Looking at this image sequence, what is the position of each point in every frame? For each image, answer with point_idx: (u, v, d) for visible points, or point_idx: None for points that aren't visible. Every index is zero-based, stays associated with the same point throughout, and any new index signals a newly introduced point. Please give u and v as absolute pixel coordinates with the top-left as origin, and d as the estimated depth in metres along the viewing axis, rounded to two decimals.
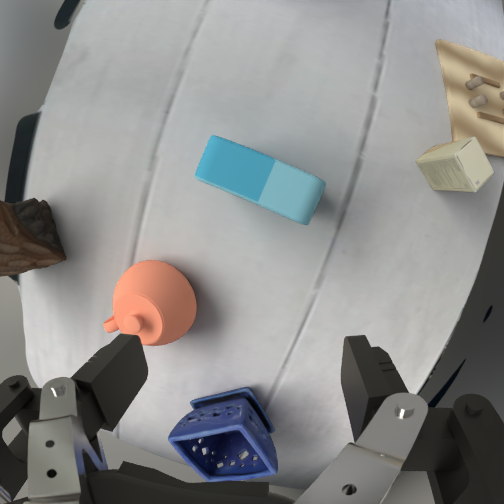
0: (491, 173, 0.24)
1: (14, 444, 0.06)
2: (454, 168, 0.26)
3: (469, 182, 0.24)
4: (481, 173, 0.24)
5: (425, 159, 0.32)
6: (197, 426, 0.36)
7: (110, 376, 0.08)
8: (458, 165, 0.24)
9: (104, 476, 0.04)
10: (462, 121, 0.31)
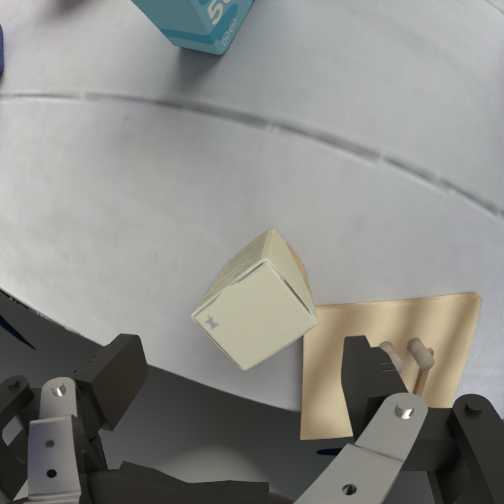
0: (240, 363, 0.14)
1: (14, 444, 0.06)
2: (242, 268, 0.15)
3: (208, 301, 0.14)
4: (233, 335, 0.14)
5: (271, 233, 0.21)
6: None
7: (110, 376, 0.08)
8: (243, 272, 0.14)
9: (104, 476, 0.04)
10: (353, 325, 0.23)
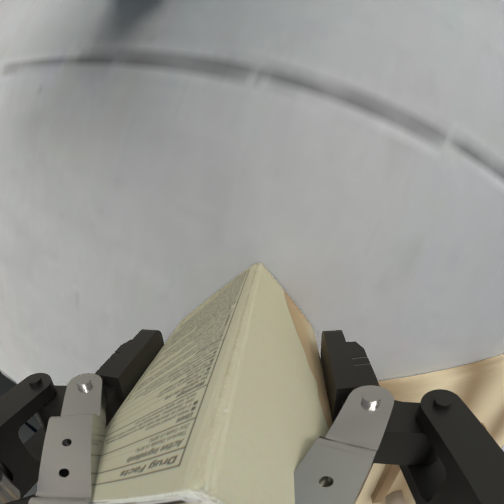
0: None
1: (33, 441, 0.06)
2: (149, 434, 0.04)
3: None
4: None
5: (253, 285, 0.10)
6: None
7: (135, 371, 0.09)
8: (134, 484, 0.03)
9: None
10: None
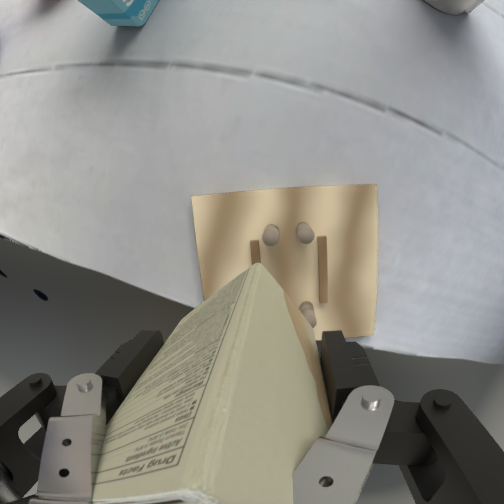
0: None
1: (33, 441, 0.06)
2: (149, 434, 0.04)
3: None
4: None
5: (252, 285, 0.10)
6: None
7: (135, 371, 0.09)
8: (134, 484, 0.03)
9: None
10: (235, 206, 0.28)
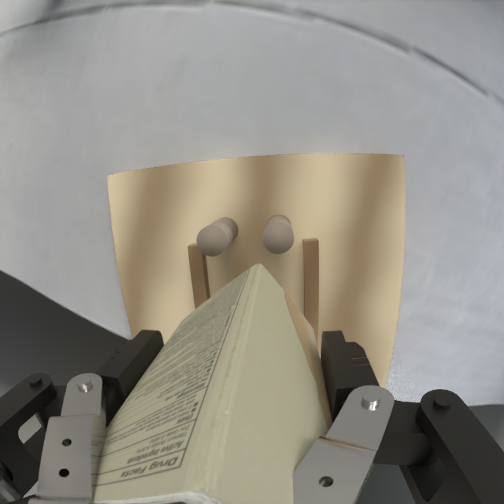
0: None
1: (33, 441, 0.06)
2: (150, 435, 0.04)
3: None
4: None
5: (253, 286, 0.10)
6: None
7: (135, 371, 0.09)
8: (134, 486, 0.03)
9: None
10: (167, 188, 0.16)
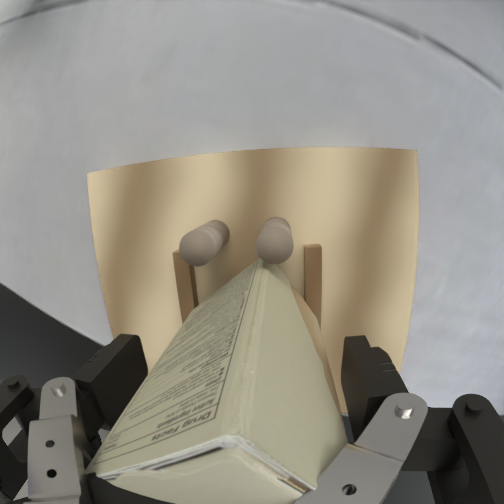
0: None
1: (14, 444, 0.06)
2: (178, 402, 0.05)
3: (100, 474, 0.04)
4: None
5: (263, 275, 0.11)
6: None
7: (110, 376, 0.08)
8: (169, 443, 0.04)
9: None
10: (151, 187, 0.14)
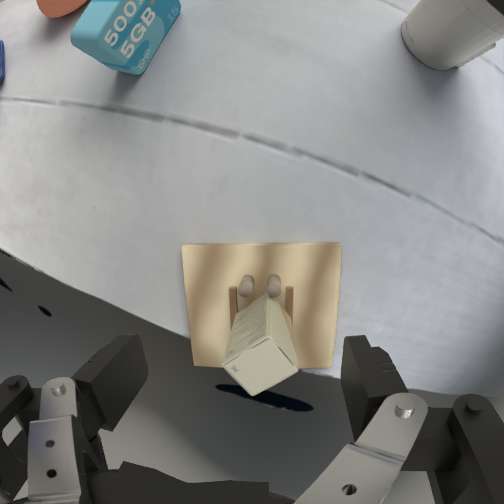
0: (250, 391, 0.23)
1: (14, 444, 0.06)
2: (253, 336, 0.24)
3: (233, 357, 0.23)
4: (247, 376, 0.23)
5: (270, 301, 0.30)
6: None
7: (110, 376, 0.08)
8: (255, 341, 0.23)
9: (104, 476, 0.04)
10: (218, 258, 0.33)
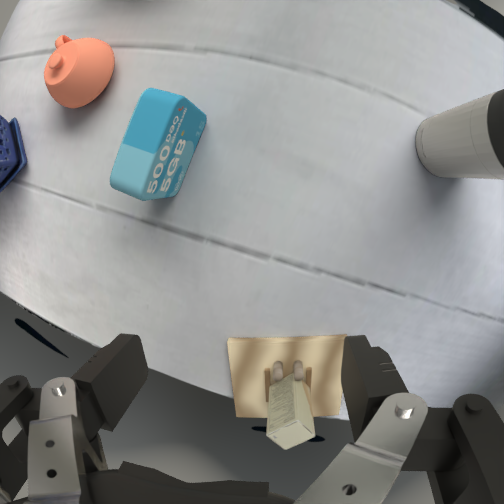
0: (284, 447, 0.32)
1: (14, 445, 0.06)
2: (286, 416, 0.33)
3: (274, 431, 0.32)
4: (282, 440, 0.32)
5: (295, 384, 0.39)
6: None
7: (110, 376, 0.08)
8: (288, 422, 0.32)
9: (104, 476, 0.04)
10: (255, 350, 0.42)
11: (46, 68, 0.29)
